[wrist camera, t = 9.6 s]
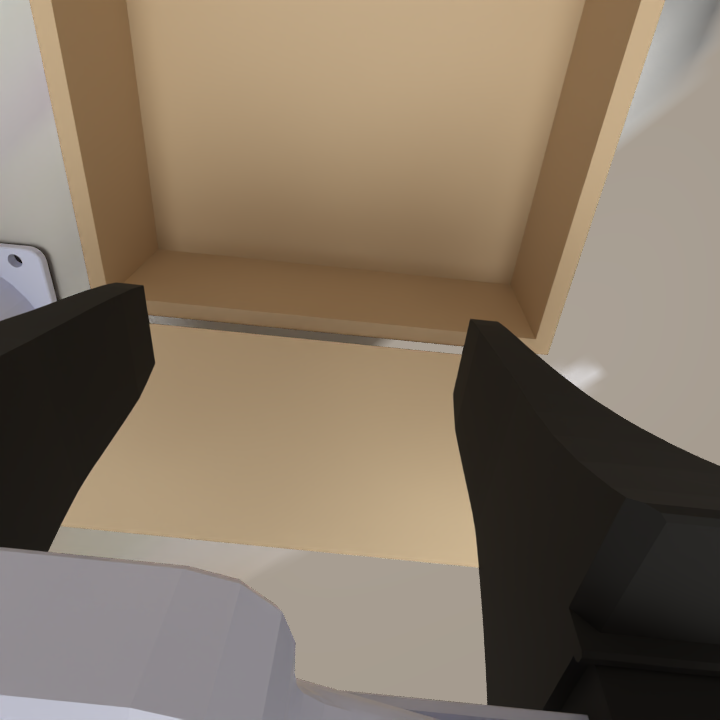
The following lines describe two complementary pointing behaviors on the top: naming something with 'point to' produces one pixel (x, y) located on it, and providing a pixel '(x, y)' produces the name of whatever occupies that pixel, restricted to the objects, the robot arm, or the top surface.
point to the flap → (288, 449)
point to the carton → (342, 154)
